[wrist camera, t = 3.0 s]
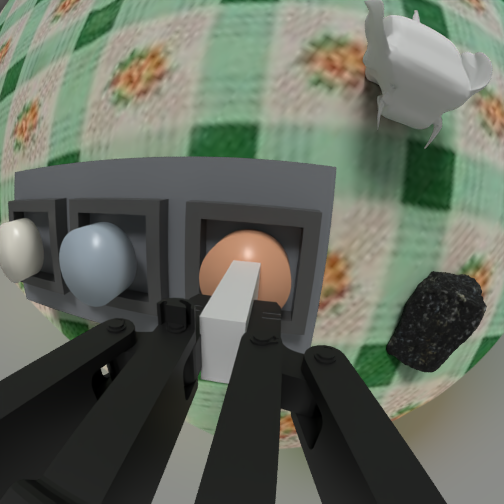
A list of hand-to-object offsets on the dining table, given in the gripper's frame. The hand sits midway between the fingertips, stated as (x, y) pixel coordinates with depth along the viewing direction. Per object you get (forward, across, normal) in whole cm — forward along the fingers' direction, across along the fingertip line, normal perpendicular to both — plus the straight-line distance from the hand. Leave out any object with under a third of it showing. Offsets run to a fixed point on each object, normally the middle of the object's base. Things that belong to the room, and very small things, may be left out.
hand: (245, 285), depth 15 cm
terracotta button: (+3, 0, 0) cm, 3 cm away
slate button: (+2, -10, 0) cm, 10 cm away
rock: (+8, +18, -5) cm, 20 cm away
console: (+8, -10, 0) cm, 13 cm away
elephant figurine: (+8, +11, +16) cm, 21 cm away
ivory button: (+2, -20, 0) cm, 20 cm away
